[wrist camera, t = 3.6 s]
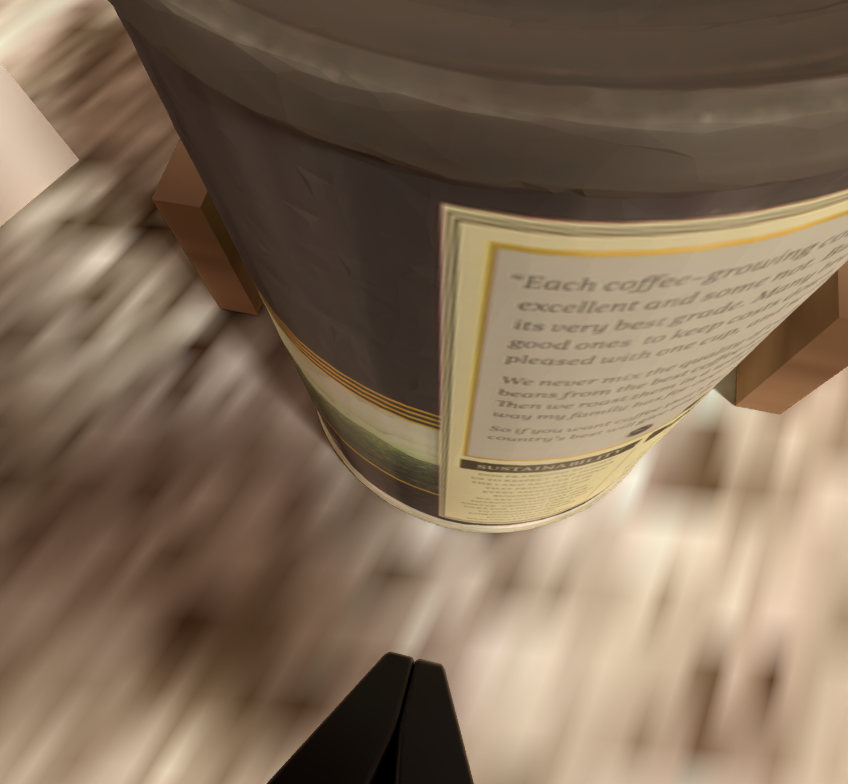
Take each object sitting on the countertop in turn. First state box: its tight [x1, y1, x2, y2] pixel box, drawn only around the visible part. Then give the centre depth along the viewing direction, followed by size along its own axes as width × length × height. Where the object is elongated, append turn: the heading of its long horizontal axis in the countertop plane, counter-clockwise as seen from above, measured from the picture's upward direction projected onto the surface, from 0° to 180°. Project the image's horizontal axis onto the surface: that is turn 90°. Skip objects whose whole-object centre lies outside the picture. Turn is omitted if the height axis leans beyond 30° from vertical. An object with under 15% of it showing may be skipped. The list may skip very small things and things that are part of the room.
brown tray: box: [152, 139, 848, 414], centre depth 19 cm, size 14×16×5 cm
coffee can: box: [108, 0, 848, 533], centre depth 12 cm, size 10×10×14 cm
